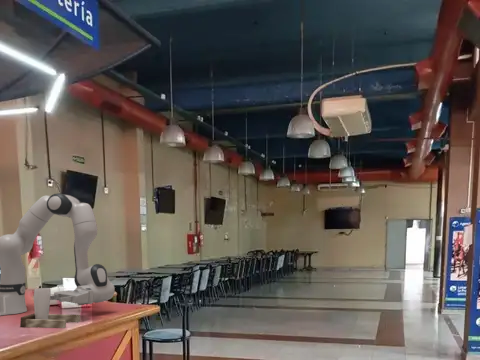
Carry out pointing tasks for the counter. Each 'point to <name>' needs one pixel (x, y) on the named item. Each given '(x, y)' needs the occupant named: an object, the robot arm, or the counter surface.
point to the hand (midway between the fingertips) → (54, 299)
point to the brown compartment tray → (48, 321)
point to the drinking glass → (42, 303)
